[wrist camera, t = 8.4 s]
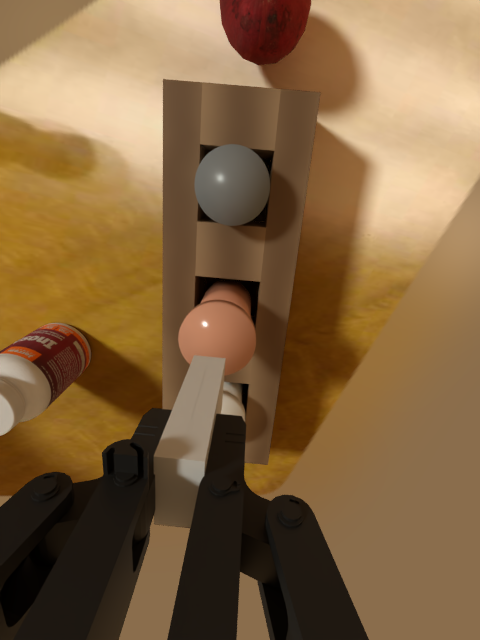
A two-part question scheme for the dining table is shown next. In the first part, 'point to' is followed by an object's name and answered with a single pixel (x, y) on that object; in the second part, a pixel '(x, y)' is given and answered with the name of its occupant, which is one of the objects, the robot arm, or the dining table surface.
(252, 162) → the plug blue-grey
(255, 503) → the robot arm
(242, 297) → the plug terracotta
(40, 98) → the dining table surface
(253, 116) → the socket block
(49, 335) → the pill bottle
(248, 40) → the onion
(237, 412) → the plug white
